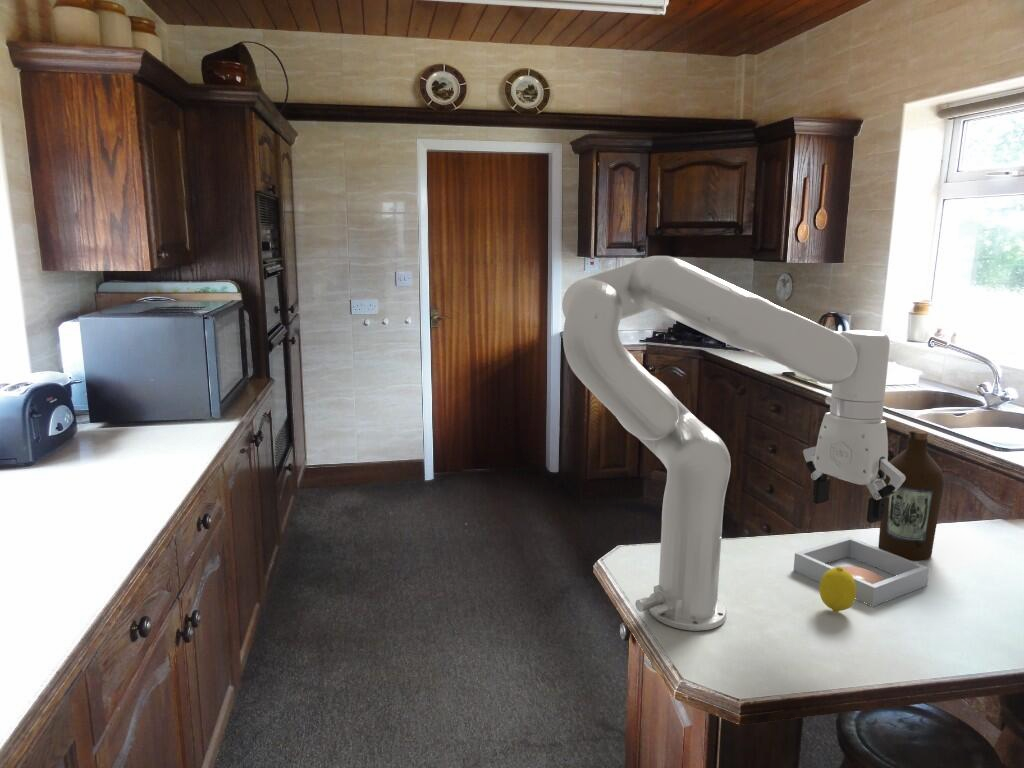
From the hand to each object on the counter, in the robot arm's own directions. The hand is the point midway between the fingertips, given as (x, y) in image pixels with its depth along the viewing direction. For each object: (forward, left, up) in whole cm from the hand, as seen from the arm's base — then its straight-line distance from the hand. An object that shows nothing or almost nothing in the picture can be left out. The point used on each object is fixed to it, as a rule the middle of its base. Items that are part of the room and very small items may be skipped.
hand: (846, 511), depth 114 cm
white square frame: (+15, +6, -18) cm, 24 cm away
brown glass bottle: (+34, +9, -18) cm, 39 cm away
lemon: (0, 0, -18) cm, 18 cm away
